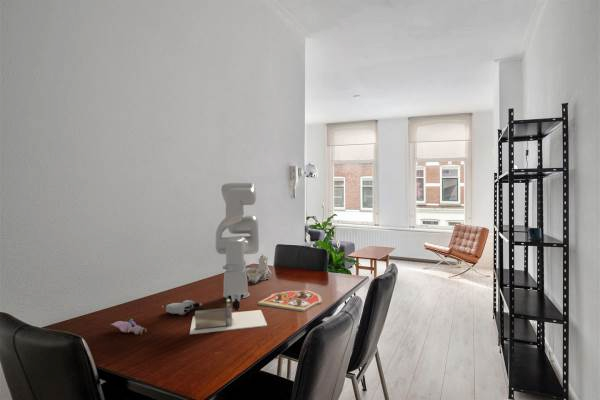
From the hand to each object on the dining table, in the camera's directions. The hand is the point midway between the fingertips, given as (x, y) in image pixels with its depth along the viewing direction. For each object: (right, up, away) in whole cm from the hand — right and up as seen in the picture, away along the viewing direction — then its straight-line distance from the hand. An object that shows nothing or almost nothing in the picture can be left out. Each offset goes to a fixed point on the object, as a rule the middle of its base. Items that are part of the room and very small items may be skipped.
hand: (236, 310), depth 153 cm
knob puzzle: (+25, -4, +26) cm, 36 cm away
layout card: (-3, -4, -4) cm, 6 cm away
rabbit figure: (-40, -5, -13) cm, 43 cm away
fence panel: (-3, -3, -2) cm, 5 cm away
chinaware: (+1, -3, +73) cm, 73 cm away
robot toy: (-27, -5, +11) cm, 29 cm away
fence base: (-7, -4, -11) cm, 14 cm away
